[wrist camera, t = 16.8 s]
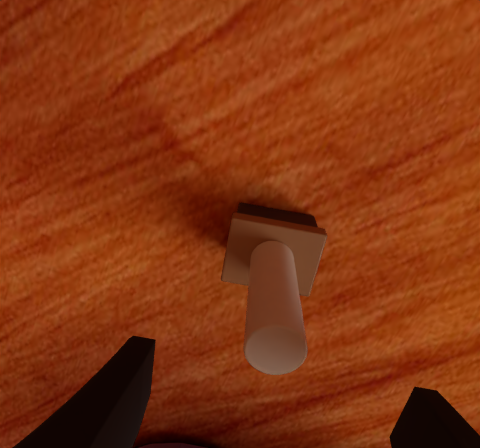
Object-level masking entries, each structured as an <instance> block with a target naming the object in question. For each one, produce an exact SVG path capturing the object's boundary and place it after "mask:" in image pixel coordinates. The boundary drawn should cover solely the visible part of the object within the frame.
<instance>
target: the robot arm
mask: <svg viewBox="0 0 480 448" xmlns="http://www.w3.org/2000/svg"><path fill="white" fill-rule="evenodd" d="M154 351H155V340H154V339H149V338H143V337H138V336H132V337H131V338H129V339H128V340H127V342H126V343H125V344H124V345H123V346H122V347H121V348H120V349H119V350H118V352H117V353H116V354H115V355H114V356H113V357H112V358H111V359H110V360H109V361H108V362H107V363H106V364H105V365H104V366H103V367H102V368H101V369H100V370H99V371H98V372H97V373H96V374H95V375H94V376H93V377H92V378H91V379H90V380H89V381H88V382H87V383H86V384H85V385H84V386H83V387H82V388H81V389H80V390H79V391H78V392H77V393H76V394H75V395H74V396H73V397H71V398H70V399H69V400H68V401H67V402H66V403H65V404H64V405H63V406H61V407H60V408H59V409H58V410H57V411H56V412H55V413H53V414H52V415H51V416H50V417H49V418H48V419H47V420H45V421H44V422H43V423H42V424H41V425H40V426H39V427H37V428H36V429H35V430H34V431H33V432H31V433H30V434H29V435H28V436H26V437H25V438H24V439H23V440H22V441H20V442H19V443H18V444H17V445H15V446H14V447H13V448H132V447H133V444H134V442H135V440H136V437H137V435H138V432H139V429H140V426H141V423H142V419H143V416H144V413H145V410H146V406H147V403H148V400H149V397H150V393H151V382H152V372H153V361H154ZM390 441H391V447H392V448H480V436H479V434H478V433H477V432H476V431H475V430H474V429H473V428H472V427H471V426H470V425H469V424H468V423H467V422H466V421H465V419H464V418H463V417H462V416H461V415H460V414H459V413H458V412H457V411H456V410H455V409H454V408H453V407H452V406H451V405H450V404H449V403H448V401H447V400H446V399H445V398H444V397H443V396H442V395H441V394H440V393H439V392H438V391H436V390H430V389H425V388H419V387H414V389H413V391H412V393H411V395H410V397H409V399H408V401H407V403H406V405H405V407H404V409H403V411H402V413H401V415H400V417H399V419H398V421H397V423H396V425H395V427H394V429H393V431H392V433H391V435H390Z"/></svg>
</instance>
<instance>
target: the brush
mask: <svg viewBox="0 0 480 448" xmlns="http://www.w3.org/2000/svg"><path fill="white" fill-rule="evenodd" d="M326 238H327V234H326V231H325V229H323V228H318V227H317V224H316V221H315V218H314V216H311V215H305V214H300V213H294V212H289V211H284V210H278V209H273V208H267V207H262V206H256V205H251V204H245V203H239V206H238V211H237V213H236V212H234V213H233V214H232V218H231V224H230V230H229V235H228V241H227V247H226V253H225V258H224V264H223V270H222V276H221V280H222V281H226V282H231V283H237V284H242V285H248V299H247V311H246V324H245V337H244V354H245V357H246V359H247V361H248V362H249V363H250V364H251V365H252V366H253V367H254V368H255V369H257V370H259V371H261V372H263V373H267V374H272V375H280V374H286V373H289V372H292V371H294V370H295V369H297V368H298V367H299V366H300V365H301V364H302V363H303V362H304V360H305V358H306V356H307V342H306V335H305V329H304V322H303V316H302V309H301V302H300V296H299V295H303V296H309V295H310V292H311V289H312V285H313V282H314V279H315V275H316V272H317V269H318V265H319V262H320V259H321V255H322V252H323V249H324V245H325V242H326Z"/></svg>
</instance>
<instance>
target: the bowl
mask: <svg viewBox="0 0 480 448" xmlns="http://www.w3.org/2000/svg"><path fill="white" fill-rule="evenodd" d="M137 448H208V447H202V446H196V445H191V444H185V443H154V444H147V445H144V446H141V447H137Z"/></svg>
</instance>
